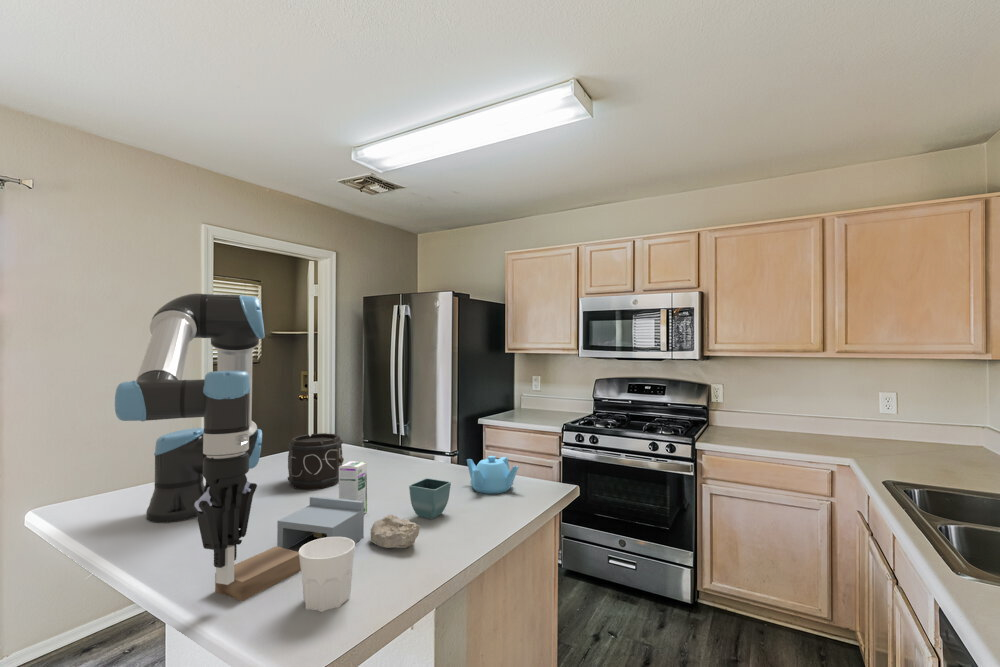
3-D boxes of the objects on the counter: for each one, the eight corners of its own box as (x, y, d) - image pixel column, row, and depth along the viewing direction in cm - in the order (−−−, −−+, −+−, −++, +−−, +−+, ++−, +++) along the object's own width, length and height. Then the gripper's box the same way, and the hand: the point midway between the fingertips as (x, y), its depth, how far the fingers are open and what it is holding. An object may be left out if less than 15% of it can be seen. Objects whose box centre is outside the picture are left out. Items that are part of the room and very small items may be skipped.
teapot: (519, 494, 157) (519, 460, 157) (473, 497, 154) (473, 463, 154) (508, 481, 172) (508, 450, 172) (466, 483, 169) (466, 452, 169)
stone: (390, 570, 112) (406, 535, 110) (358, 533, 119) (373, 500, 116) (413, 558, 119) (428, 526, 117) (382, 524, 125) (396, 493, 123)
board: (215, 593, 95) (215, 573, 96) (276, 564, 108) (276, 546, 108) (242, 603, 92) (242, 581, 92) (302, 571, 104) (302, 553, 105)
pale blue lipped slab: (277, 550, 114) (277, 512, 114) (312, 530, 126) (312, 495, 126) (332, 559, 110) (332, 518, 110) (363, 537, 122) (363, 501, 122)
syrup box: (357, 519, 134) (358, 466, 135) (338, 517, 136) (338, 465, 136) (367, 512, 140) (367, 461, 140) (348, 510, 141) (348, 460, 141)
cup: (321, 583, 99) (321, 534, 99) (364, 590, 96) (364, 540, 96) (286, 609, 89) (286, 554, 89) (333, 618, 86) (333, 561, 87)
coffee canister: (333, 491, 160) (333, 442, 160) (278, 490, 160) (279, 442, 161) (350, 475, 178) (350, 432, 178) (301, 475, 178) (302, 432, 179)
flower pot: (451, 512, 140) (451, 481, 140) (435, 523, 132) (435, 489, 132) (425, 508, 144) (425, 477, 144) (408, 518, 136) (408, 485, 136)
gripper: (213, 463, 84) (211, 602, 83) (268, 447, 96) (267, 569, 96) (179, 460, 86) (177, 596, 85) (238, 445, 98) (236, 564, 98)
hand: (225, 581), depth 90 cm, fingers closed
